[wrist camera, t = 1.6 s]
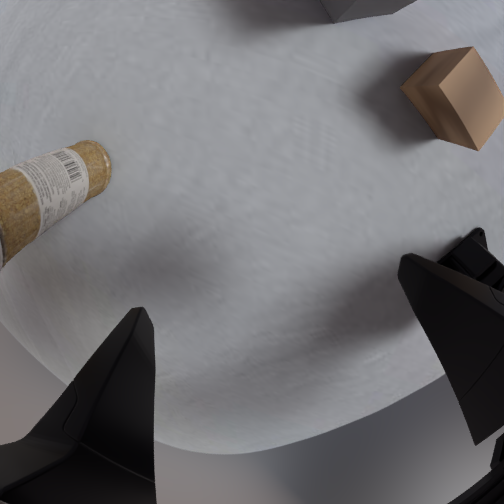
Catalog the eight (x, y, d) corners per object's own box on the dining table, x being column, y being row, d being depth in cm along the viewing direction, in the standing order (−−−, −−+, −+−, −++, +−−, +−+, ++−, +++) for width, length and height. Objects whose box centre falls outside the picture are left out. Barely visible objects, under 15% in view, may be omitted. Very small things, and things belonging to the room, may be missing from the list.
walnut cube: (467, 103, 14) (509, 109, 10) (437, 138, 16) (478, 151, 12) (433, 53, 13) (473, 46, 8) (399, 87, 15) (438, 85, 10)
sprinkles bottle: (61, 155, 17) (-74, 226, 5) (101, 128, 16) (-56, 183, 4) (82, 204, 19) (-35, 305, 7) (123, 182, 18) (-10, 289, 6)
